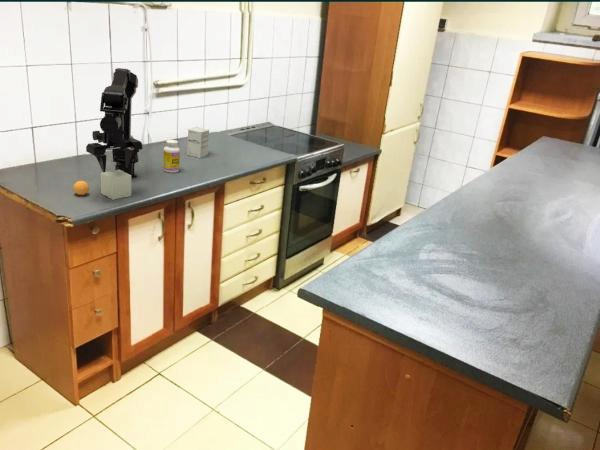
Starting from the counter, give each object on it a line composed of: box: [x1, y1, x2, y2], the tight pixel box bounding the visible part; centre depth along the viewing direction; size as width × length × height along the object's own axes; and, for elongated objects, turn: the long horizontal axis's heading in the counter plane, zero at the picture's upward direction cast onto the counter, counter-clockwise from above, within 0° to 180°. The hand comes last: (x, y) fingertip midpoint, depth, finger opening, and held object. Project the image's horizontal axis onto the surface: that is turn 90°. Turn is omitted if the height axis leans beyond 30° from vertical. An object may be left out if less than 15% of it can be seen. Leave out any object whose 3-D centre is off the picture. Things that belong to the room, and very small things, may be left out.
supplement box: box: [186, 126, 210, 159], centre depth 242 cm, size 7×7×13 cm
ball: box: [73, 180, 90, 196], centre depth 182 cm, size 5×5×5 cm
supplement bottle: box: [162, 139, 181, 174], centre depth 216 cm, size 7×7×13 cm
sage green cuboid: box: [100, 169, 132, 201], centre depth 185 cm, size 8×8×8 cm
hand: (115, 170), depth 183 cm, fingers open, 9 cm apart
